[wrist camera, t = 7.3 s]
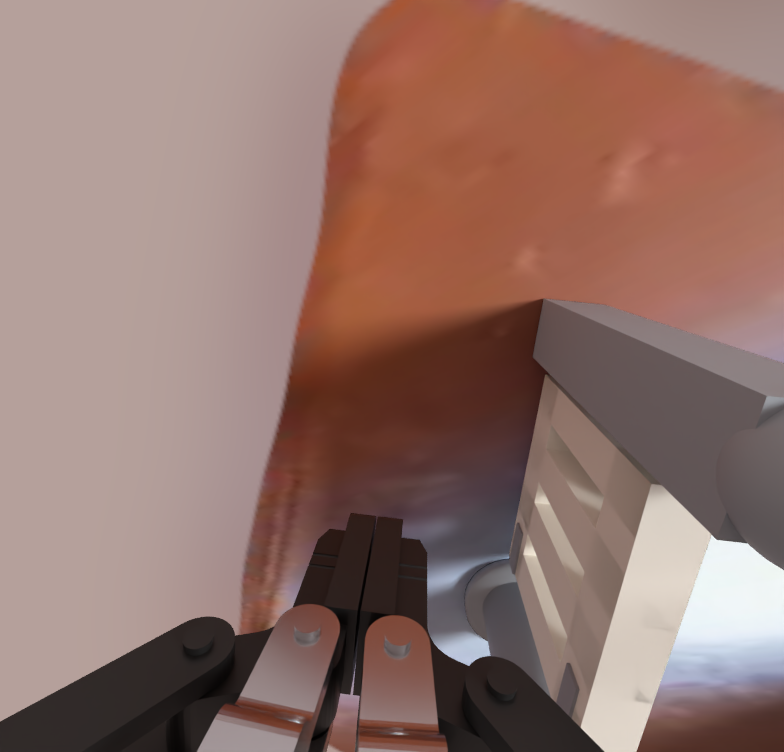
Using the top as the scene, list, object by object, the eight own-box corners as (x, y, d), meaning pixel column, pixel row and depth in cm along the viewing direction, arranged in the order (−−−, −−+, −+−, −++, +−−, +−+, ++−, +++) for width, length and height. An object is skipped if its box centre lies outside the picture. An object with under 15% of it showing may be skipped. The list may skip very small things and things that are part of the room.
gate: (546, 558, 20) (633, 771, 12) (507, 554, 21) (566, 762, 12) (588, 379, 18) (730, 493, 10) (542, 374, 18) (646, 483, 10)
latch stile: (636, 303, 18) (1230, 464, 5) (604, 434, 19) (984, 822, 6) (539, 293, 18) (863, 424, 5) (515, 424, 20) (710, 787, 6)
